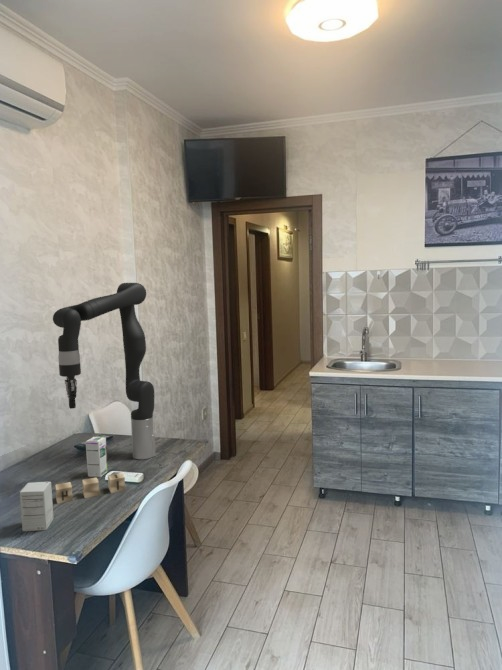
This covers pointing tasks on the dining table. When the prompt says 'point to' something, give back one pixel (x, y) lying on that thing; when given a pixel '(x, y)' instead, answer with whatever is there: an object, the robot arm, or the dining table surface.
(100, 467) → the syrup box
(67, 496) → the light wooden cube
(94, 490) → the plain block
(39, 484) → the supplement box
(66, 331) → the robot arm
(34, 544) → the dining table surface
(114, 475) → the digit one block
